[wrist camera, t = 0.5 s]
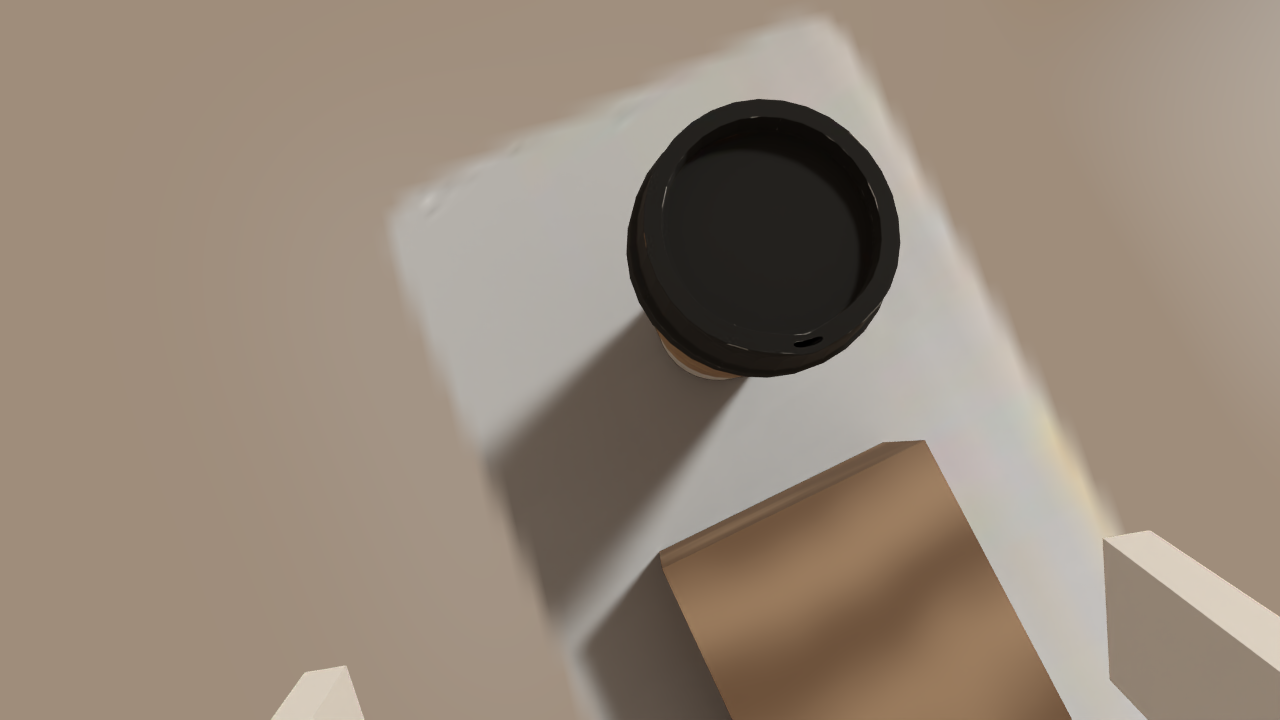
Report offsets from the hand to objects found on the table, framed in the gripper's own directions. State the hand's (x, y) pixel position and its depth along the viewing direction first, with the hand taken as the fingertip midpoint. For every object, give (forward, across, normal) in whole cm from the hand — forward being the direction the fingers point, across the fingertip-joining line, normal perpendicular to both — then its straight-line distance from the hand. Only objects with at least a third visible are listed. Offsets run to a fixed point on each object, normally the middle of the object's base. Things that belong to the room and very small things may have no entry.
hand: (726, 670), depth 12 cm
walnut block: (+19, -5, +12) cm, 23 cm away
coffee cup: (+24, -2, -1) cm, 24 cm away
